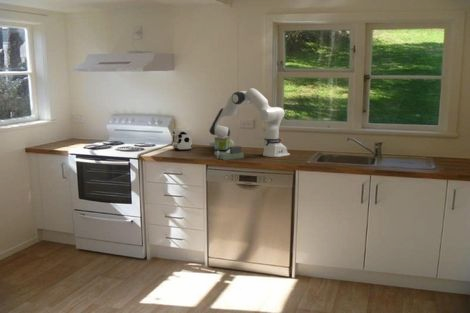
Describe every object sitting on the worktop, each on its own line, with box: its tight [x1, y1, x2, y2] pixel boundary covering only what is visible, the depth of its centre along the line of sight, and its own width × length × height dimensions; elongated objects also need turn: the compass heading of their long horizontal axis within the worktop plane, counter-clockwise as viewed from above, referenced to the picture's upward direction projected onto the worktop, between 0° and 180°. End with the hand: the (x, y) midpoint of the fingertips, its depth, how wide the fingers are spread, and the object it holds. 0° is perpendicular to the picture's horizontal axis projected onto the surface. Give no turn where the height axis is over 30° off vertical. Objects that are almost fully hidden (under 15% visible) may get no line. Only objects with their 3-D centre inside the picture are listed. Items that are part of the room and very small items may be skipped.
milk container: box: [172, 127, 193, 151], centre depth 396 cm, size 17×17×18 cm
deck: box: [216, 145, 245, 161], centre depth 357 cm, size 20×9×9 cm, turn 119°
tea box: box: [214, 135, 231, 157], centre depth 374 cm, size 15×10×15 cm
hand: (222, 144), depth 384 cm, fingers closed
